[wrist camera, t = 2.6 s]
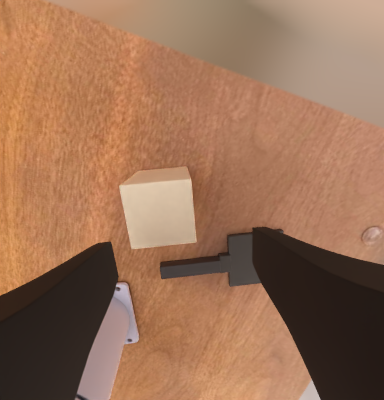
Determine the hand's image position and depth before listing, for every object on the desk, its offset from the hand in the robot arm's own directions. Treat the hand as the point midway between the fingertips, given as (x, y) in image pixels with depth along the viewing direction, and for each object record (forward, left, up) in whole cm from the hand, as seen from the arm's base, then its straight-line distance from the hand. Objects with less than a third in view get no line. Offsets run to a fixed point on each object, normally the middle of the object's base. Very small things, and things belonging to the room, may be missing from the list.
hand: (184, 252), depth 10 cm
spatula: (+4, -7, -9) cm, 12 cm away
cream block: (-1, +1, -9) cm, 9 cm away
